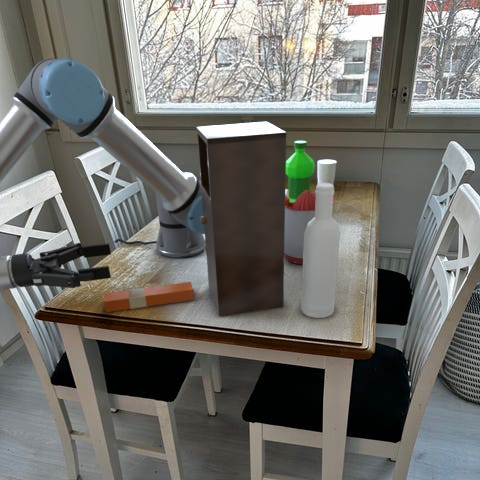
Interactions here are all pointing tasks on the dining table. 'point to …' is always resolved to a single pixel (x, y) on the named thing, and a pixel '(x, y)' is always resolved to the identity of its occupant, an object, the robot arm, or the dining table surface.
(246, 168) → the cupboard
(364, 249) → the dining table surface
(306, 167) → the plastic bottle
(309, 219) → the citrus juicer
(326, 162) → the white cup
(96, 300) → the dining table surface
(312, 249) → the bottle
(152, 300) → the block
